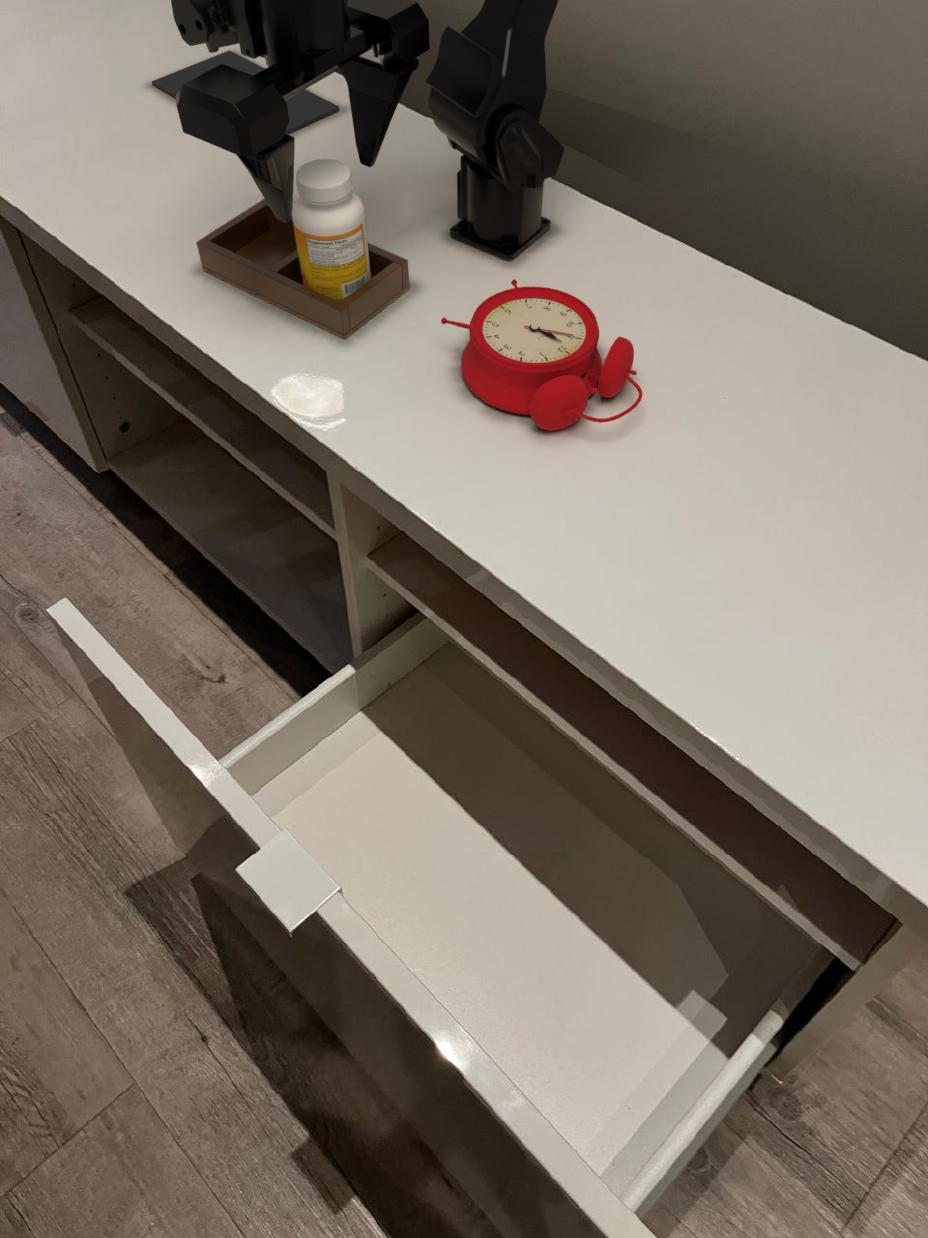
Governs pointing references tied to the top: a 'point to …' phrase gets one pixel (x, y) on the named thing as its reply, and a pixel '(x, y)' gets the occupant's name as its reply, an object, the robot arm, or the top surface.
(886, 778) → the top surface
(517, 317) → the alarm clock
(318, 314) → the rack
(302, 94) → the mat
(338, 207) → the supplement bottle
